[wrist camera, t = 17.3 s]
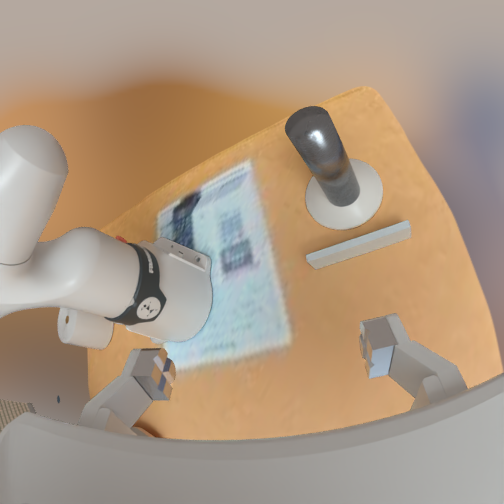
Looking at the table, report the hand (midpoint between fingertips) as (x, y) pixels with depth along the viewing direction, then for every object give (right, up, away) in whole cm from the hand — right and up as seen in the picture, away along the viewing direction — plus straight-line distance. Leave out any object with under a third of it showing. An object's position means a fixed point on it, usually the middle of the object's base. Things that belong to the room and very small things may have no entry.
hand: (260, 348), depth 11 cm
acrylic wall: (+14, +4, +26) cm, 30 cm away
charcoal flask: (+13, +13, +30) cm, 35 cm away
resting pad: (+13, +13, +30) cm, 35 cm away
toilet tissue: (-36, -14, +50) cm, 63 cm away
